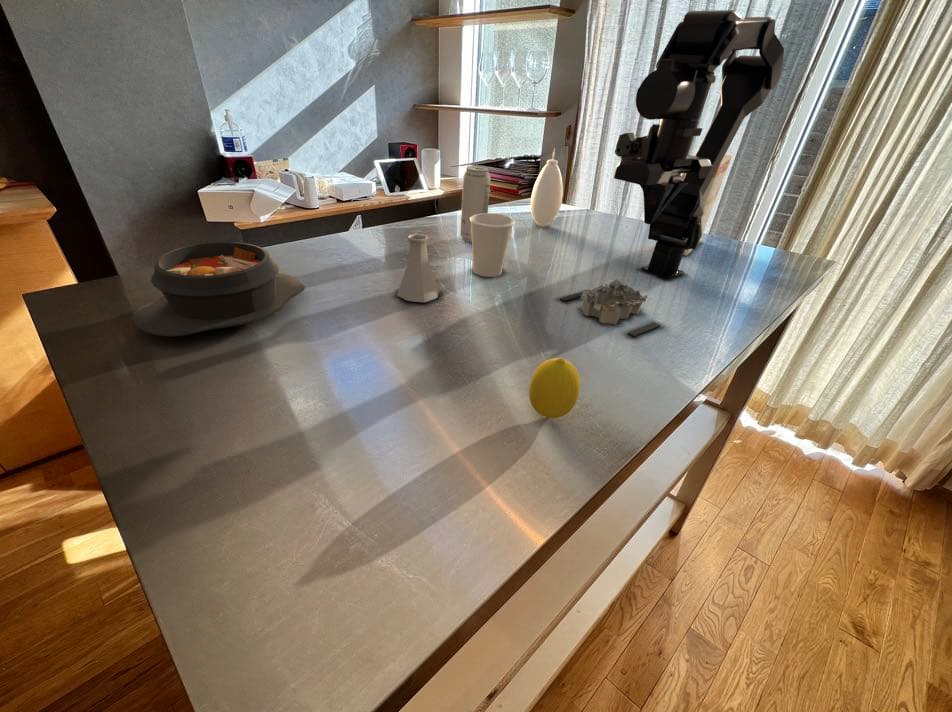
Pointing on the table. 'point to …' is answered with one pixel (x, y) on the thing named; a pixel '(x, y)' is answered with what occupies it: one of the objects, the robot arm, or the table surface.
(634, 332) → the bay strips
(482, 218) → the dixie cup
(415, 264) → the flask
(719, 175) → the coffeecake box
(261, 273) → the casserole
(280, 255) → the table surface
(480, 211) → the energy drink can
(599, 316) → the tan rough lump
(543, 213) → the air blower bulb
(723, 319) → the table surface
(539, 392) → the lemon
